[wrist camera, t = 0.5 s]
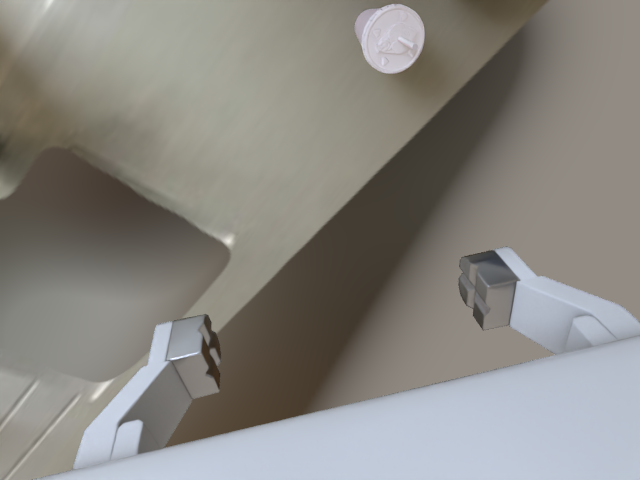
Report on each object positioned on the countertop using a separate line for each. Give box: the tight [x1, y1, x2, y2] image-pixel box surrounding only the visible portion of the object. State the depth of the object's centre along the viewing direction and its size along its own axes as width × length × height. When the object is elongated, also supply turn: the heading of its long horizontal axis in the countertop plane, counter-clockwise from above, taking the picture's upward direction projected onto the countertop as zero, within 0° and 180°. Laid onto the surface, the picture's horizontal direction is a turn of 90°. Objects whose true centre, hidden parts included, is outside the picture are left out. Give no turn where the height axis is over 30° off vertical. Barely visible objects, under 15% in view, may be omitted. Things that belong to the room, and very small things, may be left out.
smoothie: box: [355, 4, 425, 74], centre depth 44 cm, size 6×6×14 cm
